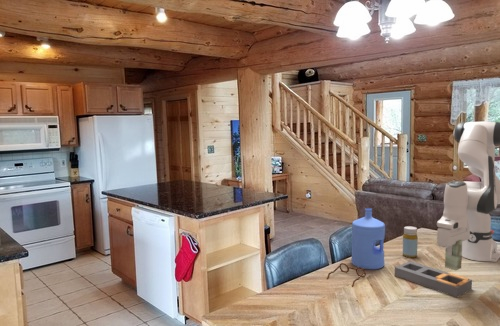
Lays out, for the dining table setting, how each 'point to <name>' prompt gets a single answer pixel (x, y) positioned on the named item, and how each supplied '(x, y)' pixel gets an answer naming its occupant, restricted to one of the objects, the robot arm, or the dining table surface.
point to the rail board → (434, 278)
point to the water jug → (367, 242)
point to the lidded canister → (410, 241)
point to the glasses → (348, 270)
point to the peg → (454, 257)
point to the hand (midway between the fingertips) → (453, 253)
